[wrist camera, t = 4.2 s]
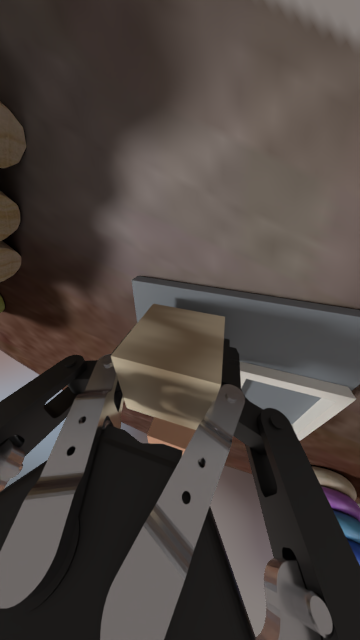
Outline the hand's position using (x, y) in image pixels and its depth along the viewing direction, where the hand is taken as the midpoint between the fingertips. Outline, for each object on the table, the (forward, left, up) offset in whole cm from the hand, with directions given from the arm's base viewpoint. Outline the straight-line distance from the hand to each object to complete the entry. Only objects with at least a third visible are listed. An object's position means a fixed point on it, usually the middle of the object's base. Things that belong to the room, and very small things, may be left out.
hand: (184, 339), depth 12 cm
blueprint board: (+4, -7, -2) cm, 8 cm away
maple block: (0, 0, 0) cm, 0 cm away
